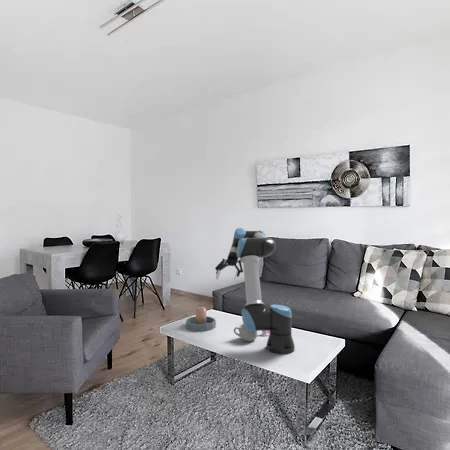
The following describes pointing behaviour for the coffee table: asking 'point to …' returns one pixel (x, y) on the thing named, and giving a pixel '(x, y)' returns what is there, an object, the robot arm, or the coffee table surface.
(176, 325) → the coffee table surface
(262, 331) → the lily
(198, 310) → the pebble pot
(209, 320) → the bowl
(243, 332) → the teacup
